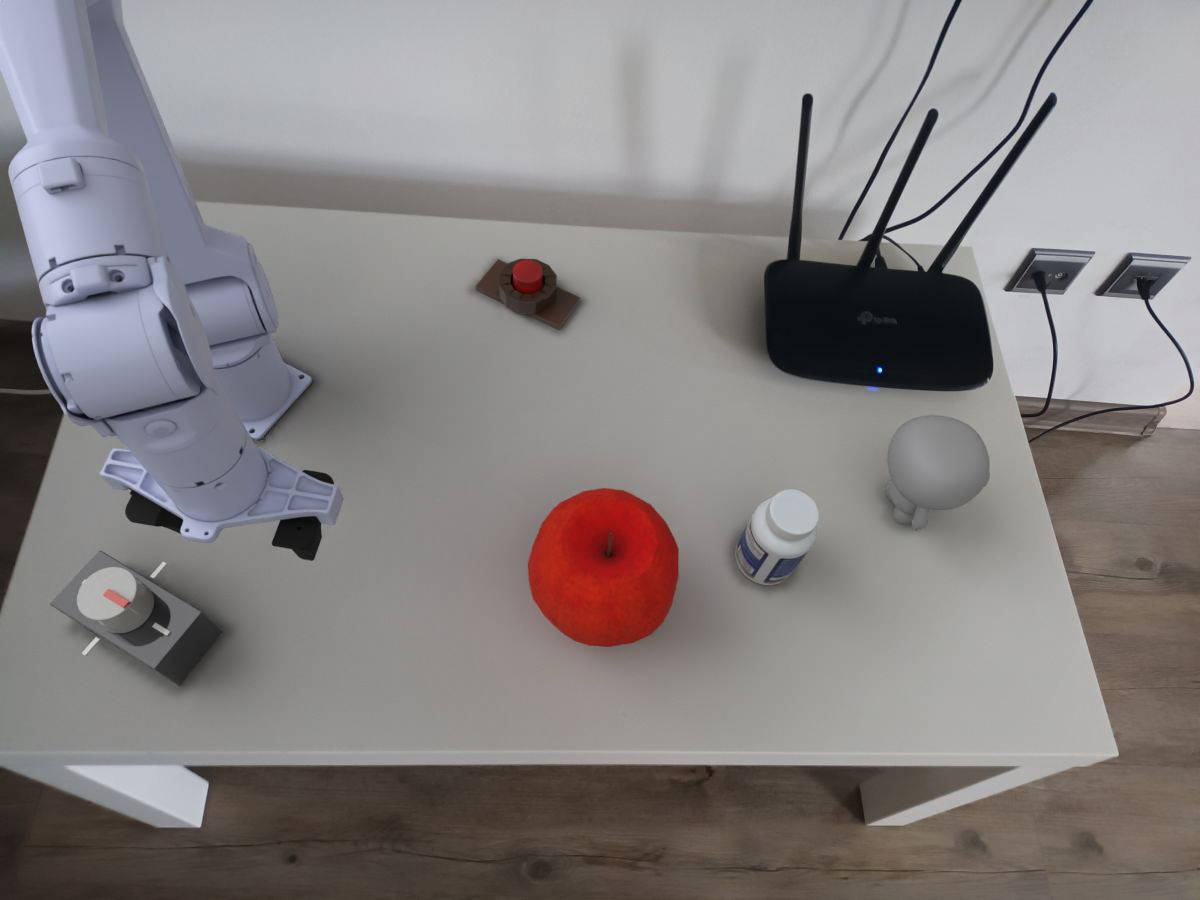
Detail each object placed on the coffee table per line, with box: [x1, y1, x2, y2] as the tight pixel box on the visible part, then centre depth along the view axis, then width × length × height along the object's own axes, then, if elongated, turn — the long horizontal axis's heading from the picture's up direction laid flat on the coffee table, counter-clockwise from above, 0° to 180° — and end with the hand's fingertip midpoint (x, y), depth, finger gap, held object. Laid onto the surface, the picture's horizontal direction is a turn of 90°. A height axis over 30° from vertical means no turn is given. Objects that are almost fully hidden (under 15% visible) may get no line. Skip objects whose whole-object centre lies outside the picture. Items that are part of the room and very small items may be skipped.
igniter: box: [475, 258, 581, 331], centre depth 84 cm, size 10×6×2 cm, turn 62°
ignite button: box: [513, 260, 543, 294], centre depth 83 cm, size 3×3×2 cm
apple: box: [527, 487, 680, 648], centre depth 63 cm, size 12×12×13 cm
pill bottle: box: [734, 488, 820, 586], centre depth 68 cm, size 5×5×10 cm
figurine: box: [885, 414, 991, 531], centre depth 71 cm, size 8×8×12 cm
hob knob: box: [77, 567, 154, 633], centre depth 59 cm, size 4×4×4 cm
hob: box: [49, 550, 224, 687], centre depth 63 cm, size 10×8×5 cm
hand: (261, 538), depth 59 cm, fingers open, 7 cm apart
